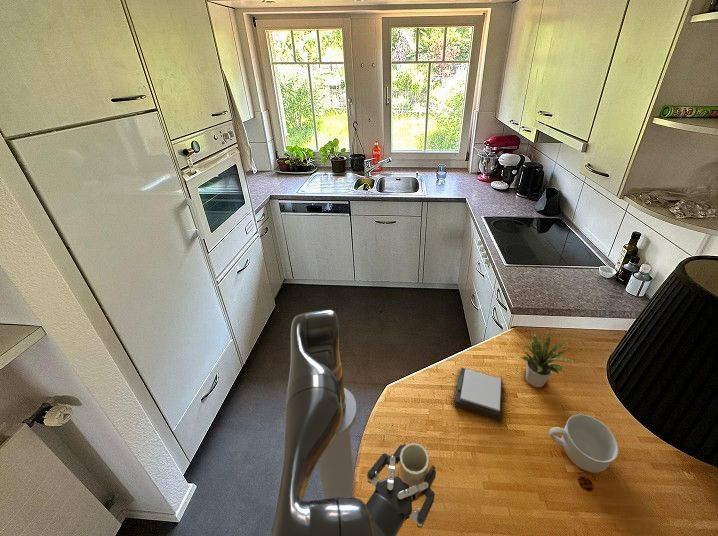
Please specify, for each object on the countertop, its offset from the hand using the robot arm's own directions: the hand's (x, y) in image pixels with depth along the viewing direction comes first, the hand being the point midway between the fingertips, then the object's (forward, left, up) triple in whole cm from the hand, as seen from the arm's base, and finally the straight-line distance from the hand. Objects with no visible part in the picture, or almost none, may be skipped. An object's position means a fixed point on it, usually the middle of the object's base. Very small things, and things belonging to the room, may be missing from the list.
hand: (419, 456), depth 72 cm
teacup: (+35, +18, -7) cm, 40 cm away
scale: (+11, +26, -7) cm, 29 cm away
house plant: (+28, +37, -7) cm, 47 cm away
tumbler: (-1, -2, -7) cm, 7 cm away
